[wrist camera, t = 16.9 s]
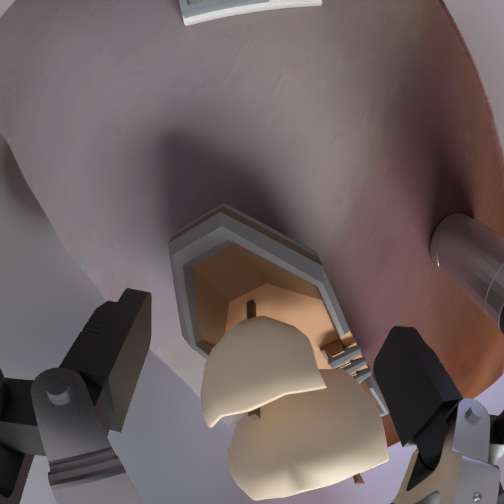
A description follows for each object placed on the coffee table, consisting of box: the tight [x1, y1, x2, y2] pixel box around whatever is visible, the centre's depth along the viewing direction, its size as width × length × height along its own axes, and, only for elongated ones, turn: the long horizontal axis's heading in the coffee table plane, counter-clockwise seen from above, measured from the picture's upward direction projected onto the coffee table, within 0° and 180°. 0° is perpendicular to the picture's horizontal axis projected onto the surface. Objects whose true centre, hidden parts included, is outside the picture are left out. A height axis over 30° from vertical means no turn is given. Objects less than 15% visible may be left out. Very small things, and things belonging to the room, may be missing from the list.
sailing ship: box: [169, 203, 389, 501], centre depth 32 cm, size 16×45×27 cm, turn 30°
